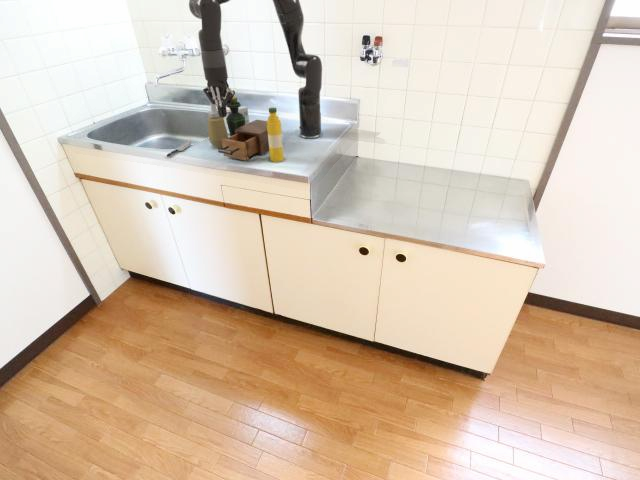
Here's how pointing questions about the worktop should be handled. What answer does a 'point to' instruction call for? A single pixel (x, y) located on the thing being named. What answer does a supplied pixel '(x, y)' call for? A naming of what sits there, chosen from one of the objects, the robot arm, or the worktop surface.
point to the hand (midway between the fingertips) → (223, 116)
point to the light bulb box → (241, 110)
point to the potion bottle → (234, 117)
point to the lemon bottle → (274, 136)
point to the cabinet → (257, 134)
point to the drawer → (240, 146)
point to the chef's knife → (180, 148)
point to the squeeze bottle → (216, 128)
